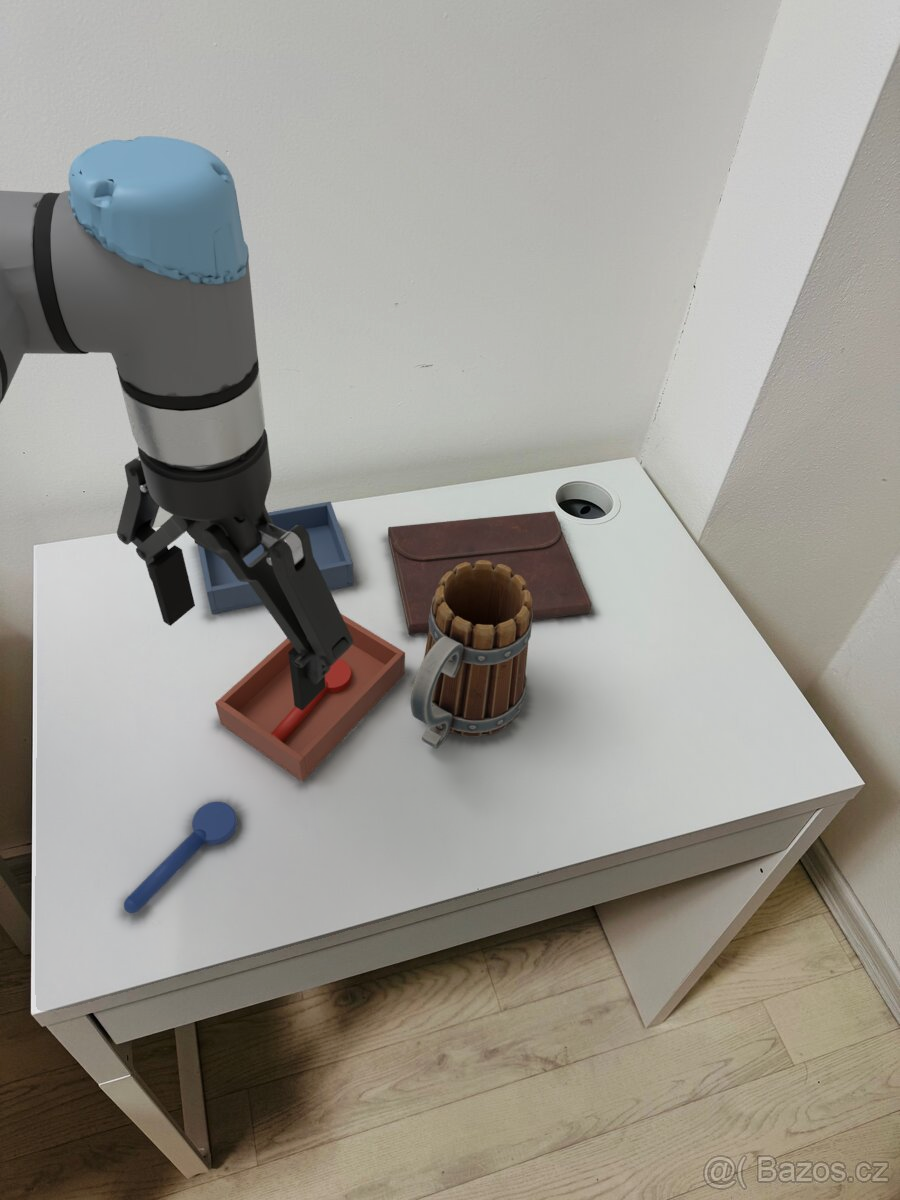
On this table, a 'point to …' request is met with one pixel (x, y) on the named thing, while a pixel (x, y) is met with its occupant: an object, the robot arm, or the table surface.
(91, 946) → the table surface
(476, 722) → the mug
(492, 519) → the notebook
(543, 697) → the table surface
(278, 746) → the red bin
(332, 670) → the red spoon
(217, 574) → the blue bin
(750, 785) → the table surface
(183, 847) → the blue spoon
